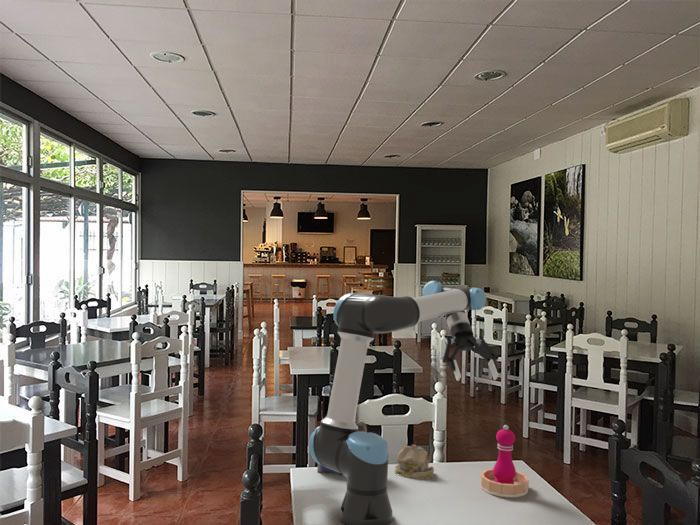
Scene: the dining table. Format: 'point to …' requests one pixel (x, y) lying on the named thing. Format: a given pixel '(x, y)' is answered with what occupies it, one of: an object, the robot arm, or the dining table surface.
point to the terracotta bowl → (504, 485)
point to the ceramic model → (413, 463)
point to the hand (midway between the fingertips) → (477, 378)
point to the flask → (327, 470)
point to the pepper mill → (505, 457)
